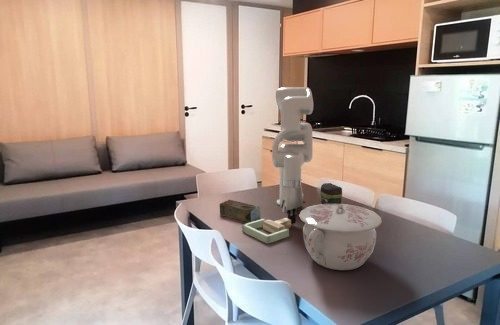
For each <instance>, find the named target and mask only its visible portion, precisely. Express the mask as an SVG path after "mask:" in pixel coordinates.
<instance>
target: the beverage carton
mask: <svg viewBox="0 0 500 325" xmlns="http://www.w3.org/2000/svg"><path fill="white" fill-rule="evenodd" d="M219 215H220V216H223V217H227V218H232V219H235V220H238V221H242V222H246V223H250V222H254V221H255V220H256V221H257V220H260V219H261V206H257V205H254V204H249V203H245V202H241V201H238V200H232V199H227V200H224V201H223V202H221V203H219Z"/></svg>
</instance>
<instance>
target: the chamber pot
mask: <svg viewBox="0 0 500 325" xmlns="http://www.w3.org/2000/svg"><path fill="white" fill-rule="evenodd" d="M298 217H299V219H300V220H301V221H302V222H303V223H304V225H303V227H302V238H303V243H304V246H305V249H306V250H307V252H308V254H309V256H310V257H311V259H312V260H313V261H314V262H315V263H317V264H318V266H321V267H323V268H327V269H330V270H333V271H334V270H336V271H350V270H355V269H357V268H360V267H361V266H363V265H364V264H365V263H366V261H367V260H368V259H369V258H370V256H371V255H372V254H373V253H374V249H375V246H376V243H377V242H376V241H377V231H376V228H378V227H380V226H381V224H382V223H383V222H382V217H381V216H380V215H379V214H378V213H377V212H375V211H373V210H370V209H368V208H366V207H362V206H358V205H353V204H348V203H347V204H346V203H341V204H337V203H332V204H321V203H319V204H313V205H311V206H307V207H304V208H303V209H302V210H301V211H300V212H299V214H298Z"/></svg>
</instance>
